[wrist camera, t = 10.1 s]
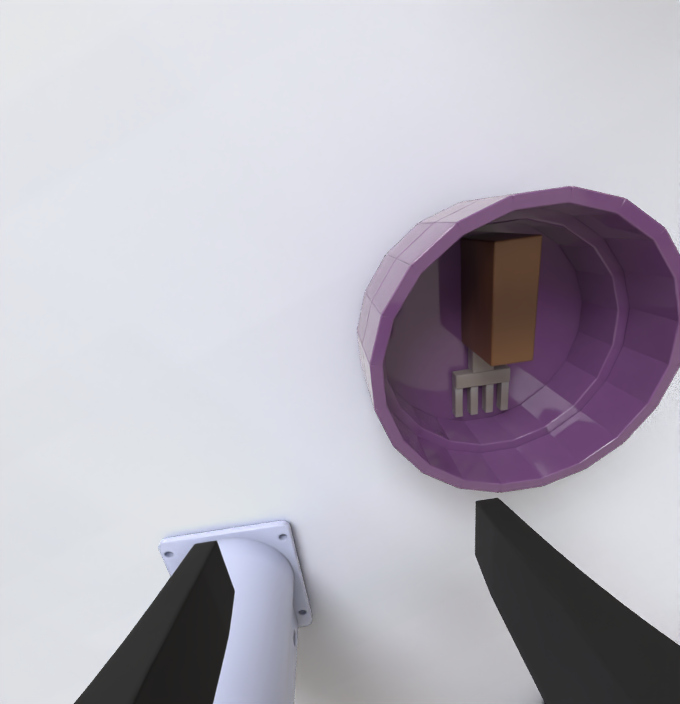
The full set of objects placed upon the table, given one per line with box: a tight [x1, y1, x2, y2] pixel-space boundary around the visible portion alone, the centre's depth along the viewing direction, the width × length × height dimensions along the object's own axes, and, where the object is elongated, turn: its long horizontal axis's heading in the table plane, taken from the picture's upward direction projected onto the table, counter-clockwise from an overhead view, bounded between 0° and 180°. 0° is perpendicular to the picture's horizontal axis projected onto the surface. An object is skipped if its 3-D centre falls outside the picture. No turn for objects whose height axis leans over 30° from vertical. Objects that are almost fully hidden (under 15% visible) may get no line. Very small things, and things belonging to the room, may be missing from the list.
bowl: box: [357, 186, 680, 493], centre depth 15 cm, size 12×12×5 cm
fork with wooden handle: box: [452, 232, 542, 417], centre depth 15 cm, size 9×3×3 cm, turn 8°
